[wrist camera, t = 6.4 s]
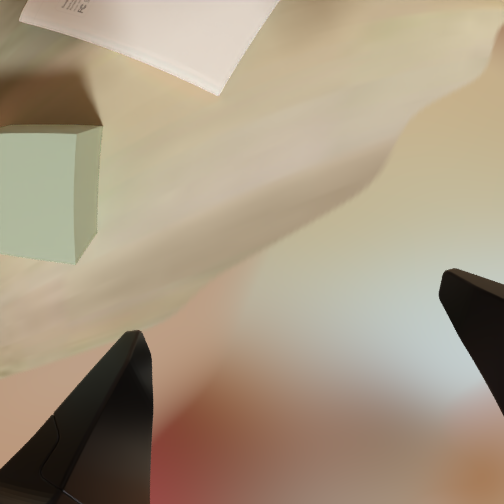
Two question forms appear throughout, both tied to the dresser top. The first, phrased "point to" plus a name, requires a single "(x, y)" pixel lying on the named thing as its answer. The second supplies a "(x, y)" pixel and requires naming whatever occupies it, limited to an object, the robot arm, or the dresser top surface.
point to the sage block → (48, 190)
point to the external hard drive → (162, 31)
